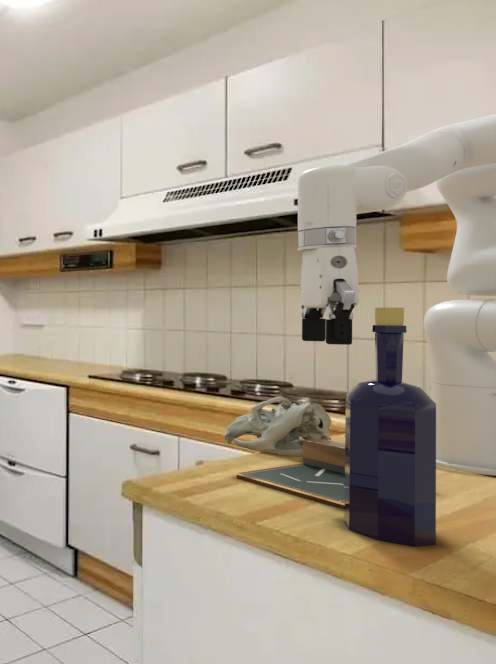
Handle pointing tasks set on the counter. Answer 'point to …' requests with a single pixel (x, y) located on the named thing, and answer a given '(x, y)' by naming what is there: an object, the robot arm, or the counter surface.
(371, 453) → the bottle
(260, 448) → the animal skull
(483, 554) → the counter surface
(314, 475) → the chalkboard
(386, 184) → the robot arm
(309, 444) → the eraser
